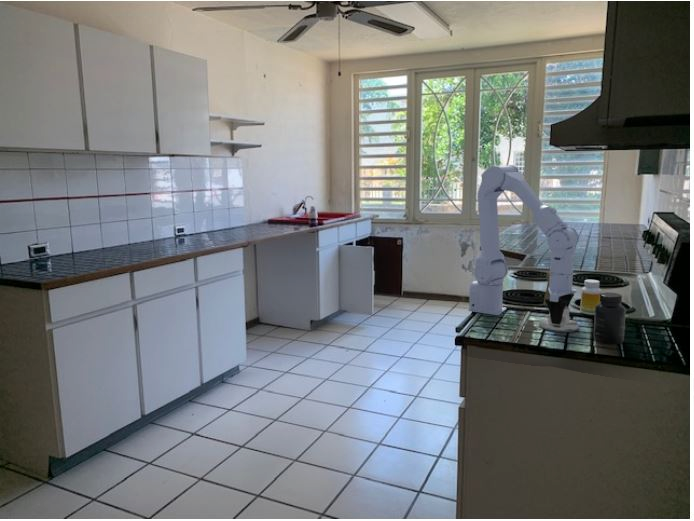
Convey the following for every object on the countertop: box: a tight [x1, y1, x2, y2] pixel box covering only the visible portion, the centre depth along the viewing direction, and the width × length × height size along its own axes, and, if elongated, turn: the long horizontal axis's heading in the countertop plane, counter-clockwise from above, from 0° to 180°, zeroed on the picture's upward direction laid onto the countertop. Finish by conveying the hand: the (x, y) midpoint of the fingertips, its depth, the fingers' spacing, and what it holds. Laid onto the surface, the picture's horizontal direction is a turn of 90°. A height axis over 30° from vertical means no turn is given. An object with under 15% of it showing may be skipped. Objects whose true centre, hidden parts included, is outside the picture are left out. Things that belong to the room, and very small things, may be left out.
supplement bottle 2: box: [593, 291, 627, 345], centre depth 125 cm, size 7×7×12 cm
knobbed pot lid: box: [538, 317, 579, 333], centre depth 137 cm, size 10×10×3 cm
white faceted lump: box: [547, 306, 570, 326], centre depth 137 cm, size 5×4×5 cm
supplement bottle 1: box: [579, 279, 602, 316], centre depth 148 cm, size 5×5×10 cm
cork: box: [543, 270, 550, 308], centre depth 157 cm, size 6×6×11 cm
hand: (558, 320), depth 137 cm, fingers open, 5 cm apart
